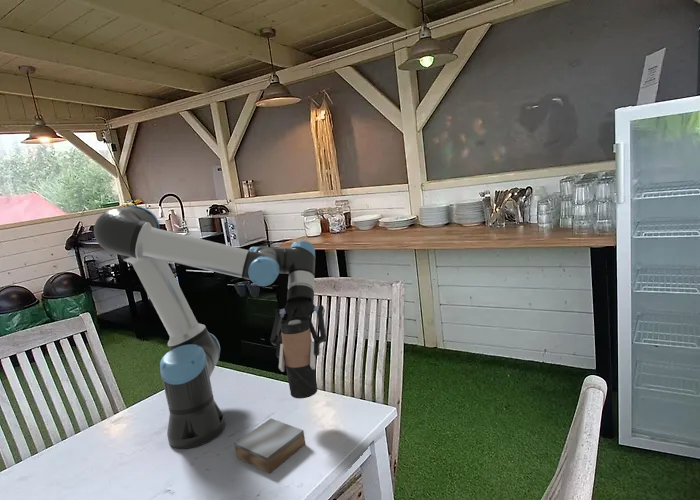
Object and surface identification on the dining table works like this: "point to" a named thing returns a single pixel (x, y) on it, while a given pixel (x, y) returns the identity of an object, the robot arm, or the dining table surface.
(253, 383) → the dining table surface
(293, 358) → the travel mug
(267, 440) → the walnut stand
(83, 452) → the dining table surface
